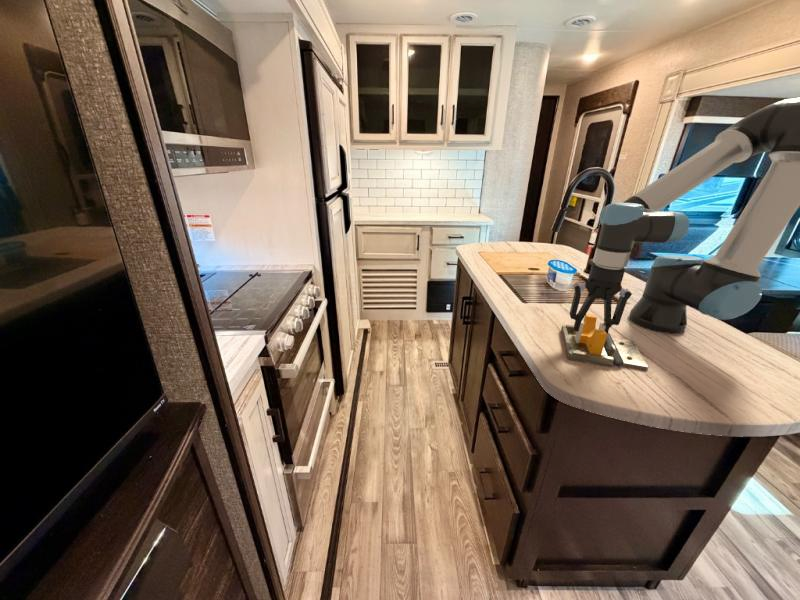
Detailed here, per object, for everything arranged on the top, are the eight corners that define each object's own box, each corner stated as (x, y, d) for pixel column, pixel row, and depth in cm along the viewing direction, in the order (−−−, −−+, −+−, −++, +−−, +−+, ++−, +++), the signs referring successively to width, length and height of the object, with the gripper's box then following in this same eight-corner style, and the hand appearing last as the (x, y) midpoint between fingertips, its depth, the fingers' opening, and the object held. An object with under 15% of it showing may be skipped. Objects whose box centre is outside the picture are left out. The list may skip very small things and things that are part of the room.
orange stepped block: (574, 331, 99) (578, 313, 96) (589, 333, 97) (595, 314, 95) (583, 352, 88) (589, 332, 85) (601, 355, 87) (607, 334, 84)
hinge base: (630, 341, 97) (632, 334, 96) (649, 373, 82) (652, 365, 81) (561, 330, 102) (562, 324, 101) (567, 359, 88) (569, 352, 87)
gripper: (643, 264, 84) (618, 341, 93) (569, 257, 89) (552, 331, 99) (653, 273, 77) (625, 355, 87) (573, 265, 83) (554, 343, 92)
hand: (586, 342), depth 93 cm, fingers closed on orange stepped block, 5 cm apart
